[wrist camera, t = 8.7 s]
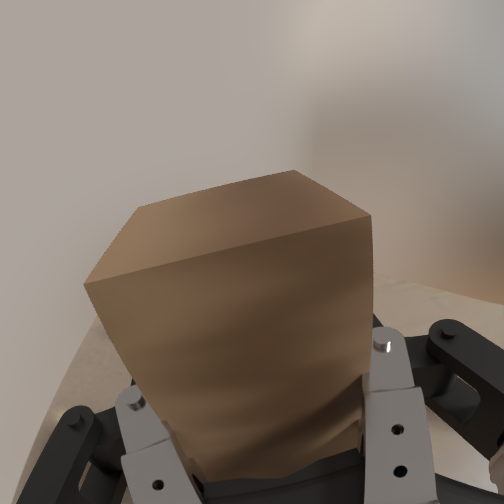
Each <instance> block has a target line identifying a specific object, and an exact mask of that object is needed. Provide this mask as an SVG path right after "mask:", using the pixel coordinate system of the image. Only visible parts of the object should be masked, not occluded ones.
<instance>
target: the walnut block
mask: <svg viewBox="0 0 504 504" xmlns="http://www.w3.org/2000/svg"><path fill="white" fill-rule="evenodd" d="M371 224H372V223H371V215H370V214H368V213H367V212H365V211H364V210H362V209H360V208H359V207H357V206H355V205H354V204H352V203H351V202H349V201H347V200H346V199H344V198H342V197H341V196H339V195H337V194H336V193H334V192H332V191H330V190H329V189H327V188H325V187H324V186H322V185H320V184H318V183H317V182H315V181H313V180H311V179H309V178H308V177H306V176H304V175H302V174H301V173H299V172H297V171H295V170H292V171H286V172H282V173H277V174H272V175H267V176H263V177H258V178H253V179H248V180H244V181H240V182H235V183H231V184H226V185H222V186H218V187H214V188H210V189H206V190H202V191H198V192H194V193H190V194H186V195H182V196H178V197H174V198H170V199H167V200H163V201H160V202H156V203H152V204H148V205H145V206H142V207H138V208H137V210H136V211H135V212H134V213H133V215H132V216H131V217H130V219H129V220H128V221H127V223H126V224H125V225H124V227H123V228H122V229H121V231H120V232H119V233H118V235H117V236H116V238H115V239H114V240H113V242H112V243H111V245H110V246H109V248H108V249H107V250H106V252H105V253H104V254H103V256H102V257H101V259H100V260H99V262H98V263H97V265H96V266H95V268H94V269H93V270H92V272H91V274H90V275H89V277H88V278H87V279H86V281H85V283H84V287H85V289H86V291H87V293H88V295H89V298H90V300H91V302H92V304H93V306H94V308H95V310H96V312H97V314H98V316H99V318H100V320H101V322H102V324H103V326H104V328H105V330H106V332H107V334H108V336H109V338H110V339H111V341H112V343H113V345H114V347H115V349H116V350H117V352H118V354H119V356H120V358H121V359H122V361H123V363H124V364H125V366H126V368H127V370H128V371H129V373H130V375H131V376H132V378H133V380H134V381H135V383H136V384H137V386H138V388H139V389H140V391H141V392H142V394H143V396H144V397H145V399H146V400H147V402H148V403H149V405H150V406H151V408H152V409H153V411H154V412H155V414H156V415H157V417H158V418H159V420H160V421H164V420H167V422H168V423H169V425H170V426H171V428H172V429H173V431H174V433H175V435H176V437H177V440H178V442H179V444H180V446H181V448H182V450H183V451H184V453H185V455H186V456H187V457H188V459H189V458H194V459H195V460H196V462H197V463H198V464H199V466H200V468H201V470H202V472H203V474H204V476H205V477H206V479H207V481H208V482H215V481H222V480H229V479H236V478H284V477H286V476H289V475H291V474H293V473H295V472H297V471H299V470H301V469H303V468H305V467H307V466H308V465H310V464H312V463H314V462H316V461H318V460H320V459H323V458H326V457H329V456H332V455H335V454H339V453H342V452H345V451H347V450H350V449H353V448H356V447H357V443H358V419H359V418H361V413H362V395H361V380H362V374H363V373H366V372H369V371H370V365H371V350H372V329H373V245H372V225H371Z"/></svg>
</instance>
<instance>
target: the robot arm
mask: <svg viewBox="0 0 504 504" xmlns="http://www.w3.org/2000/svg"><path fill="white" fill-rule="evenodd" d="M457 376H459V377H460V378H462V379H463V380H464V381H466V382H467V383H468V384H470V385H471V386H472V387H474V388H475V389H476V390H477V391H478V393H479V394H478V393H477V392H476V391H474V390H473V389H472V388H471V387H469V386H468V385H467V384H465V383H464V382H463V381H461V380H460V379H459V378H458V377H457ZM361 395H362V413H361V418H359V419H358V443H357V447H356V448H353V449H350V450H347V451H345V452H342V453H339V454H335V455H332V456H329V457H326V458H323V459H320V460H318V461H316V462H314V463H312V464H310V465H308V466H307V467H305V468H303V469H301V470H299V471H297V472H295V473H293V474H291V475H289V476H286V477H284V478H236V479H229V480H222V481H215V482H208V481H207V479H206V477H205V476H204V474H203V472H202V470H201V468H200V466H199V464H198V463H197V462H196V460H195V459H194V458H189V459H188V457H187V456H186V455H185V453H184V451H183V450H182V448H181V446H180V444H179V442H178V440H177V437H176V435H175V433H174V431H173V429H172V428H171V426H170V425H169V423H168V422H167V420H164V421H160V420H159V418H158V417H157V415H156V414H155V412H154V411H153V409H152V408H151V406H150V405H149V403H148V402H147V400H146V399H145V397H144V396H143V394H142V392H141V391H140V389H139V388H138V386H137V384H136V383H135V381H134V380H133V378H132V382H131V386H130V387H128V388H126V389H125V390H124V391H122V392H121V393H120V394H119V396H118V397H117V399H116V402H115V407H113V408H110V409H108V410H105V411H102V412H100V413H97V414H94V413H93V411H92V410H91V409H90V408H89V407H87V406H82V405H81V406H75V407H73V408H71V409H69V410H68V411H66V412H65V413H64V414H63V415H62V417H61V419H60V420H59V422H58V424H57V426H56V427H55V429H54V431H53V433H52V435H51V436H50V438H49V440H48V442H47V444H46V446H45V447H44V449H43V451H42V453H41V455H40V457H39V459H38V461H37V463H36V465H35V467H34V468H33V470H32V472H31V474H30V476H29V478H28V480H27V482H26V484H25V486H24V489H23V491H22V493H21V495H20V497H19V499H18V501H17V503H16V504H121V501H122V498H123V495H124V492H125V489H126V486H127V484H128V488H129V491H130V494H131V497H132V500H133V503H134V504H504V350H503V349H502V348H500V347H499V346H497V345H495V344H494V343H492V342H491V341H489V340H488V339H486V338H485V337H483V336H482V335H480V334H478V333H477V332H475V331H474V330H472V329H471V328H469V327H467V326H466V325H464V324H463V323H461V322H459V321H456V320H452V319H443V320H439V321H437V322H435V323H434V324H432V326H431V327H430V329H429V334H428V335H423V336H415V337H403V335H402V334H401V333H400V332H399V331H398V330H396V329H393V328H390V327H384V326H383V325H382V324H381V322H380V321H379V320H378V319H377V317H376V316H375V315H374V314H373V329H372V350H371V365H370V371H369V372H366V373H363V374H362V380H361ZM425 404H426V405H427V406H428V407H429V408H430V409H431V410H432V411H433V412H435V413H436V414H437V415H438V416H439V417H440V418H441V419H442V420H444V421H445V422H446V423H447V424H448V425H449V426H450V427H451V428H453V429H454V430H455V431H456V432H457V433H458V434H459V435H460V436H462V437H463V438H464V439H465V440H466V441H467V442H468V443H469V444H471V445H472V446H473V447H474V448H475V449H476V450H477V451H478V452H480V453H481V454H482V455H483V456H484V457H485V458H486V459H487V460H489V461H490V462H489V473H490V480H491V482H492V483H494V484H496V485H497V488H498V494H497V493H493V492H490V491H487V490H483V489H480V488H477V487H474V486H471V485H468V484H465V483H462V482H459V481H456V480H453V479H450V478H447V477H445V476H442V475H439V474H437V473H435V472H434V462H433V454H432V446H431V439H430V432H429V426H428V420H427V414H426V408H425ZM88 461H89V462H90V463H92V464H91V466H90V468H89V471H88V473H87V475H86V478H85V480H84V482H83V485H82V487H81V489H80V492H79V489H78V484H79V481H80V479H81V476H82V474H83V472H84V469H85V467H86V465H87V463H88Z"/></svg>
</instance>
